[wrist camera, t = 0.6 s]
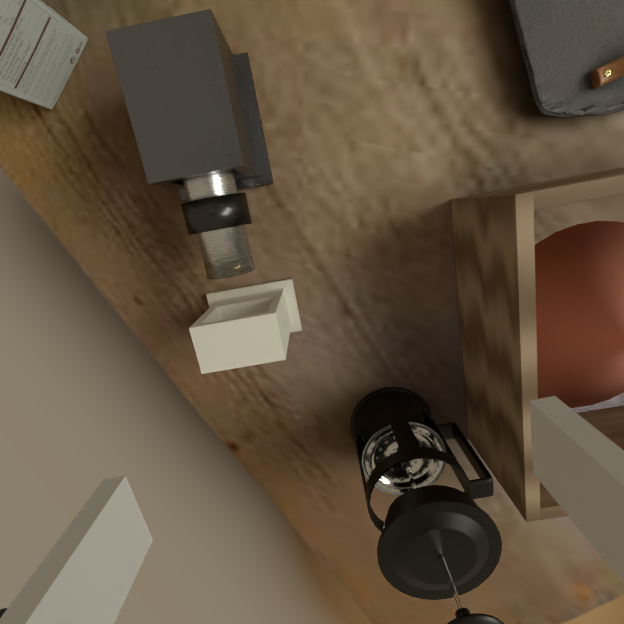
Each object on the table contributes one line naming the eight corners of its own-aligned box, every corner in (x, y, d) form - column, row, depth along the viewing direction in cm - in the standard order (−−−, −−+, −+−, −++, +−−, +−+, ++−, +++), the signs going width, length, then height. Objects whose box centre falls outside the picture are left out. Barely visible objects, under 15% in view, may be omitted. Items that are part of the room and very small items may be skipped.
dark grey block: (150, 75, 34) (86, 21, 24) (248, 55, 33) (222, -8, 24) (183, 200, 36) (137, 197, 27) (273, 183, 36) (260, 173, 26)
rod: (160, 82, 30) (131, 56, 25) (223, 69, 30) (205, 41, 25) (209, 273, 34) (192, 284, 29) (264, 263, 34) (256, 273, 29)
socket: (207, 293, 39) (173, 320, 29) (292, 278, 39) (286, 301, 29) (220, 342, 40) (192, 384, 31) (302, 328, 40) (299, 366, 30)
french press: (351, 465, 45) (393, 718, 22) (338, 396, 42) (369, 602, 20) (449, 448, 44) (591, 690, 22) (441, 377, 42) (591, 568, 19)
